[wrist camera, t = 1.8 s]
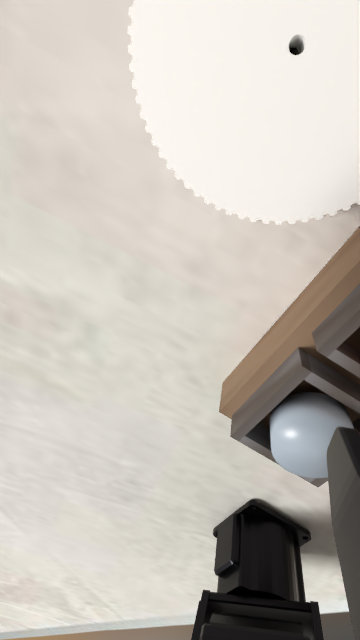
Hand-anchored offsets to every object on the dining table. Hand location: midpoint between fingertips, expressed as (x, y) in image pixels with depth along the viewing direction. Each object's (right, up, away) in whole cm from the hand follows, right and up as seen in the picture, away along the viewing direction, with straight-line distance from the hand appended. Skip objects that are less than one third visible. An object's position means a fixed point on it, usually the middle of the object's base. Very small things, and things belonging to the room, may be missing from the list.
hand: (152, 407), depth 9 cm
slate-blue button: (+8, -4, +11) cm, 14 cm away
